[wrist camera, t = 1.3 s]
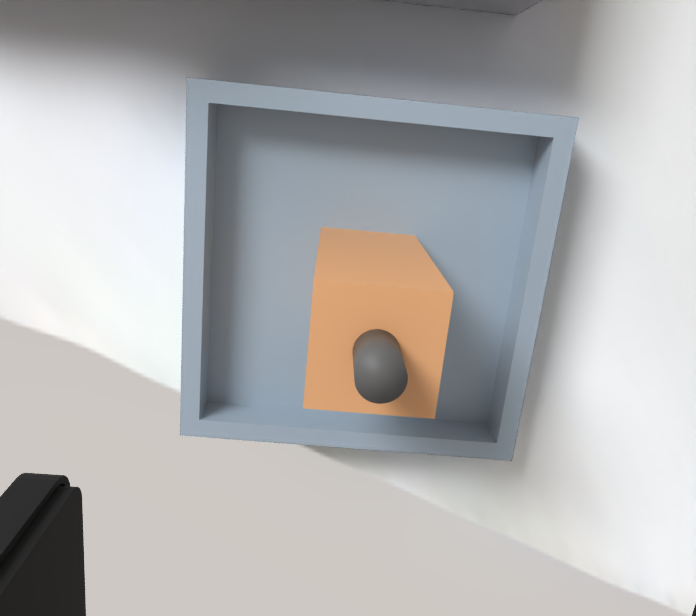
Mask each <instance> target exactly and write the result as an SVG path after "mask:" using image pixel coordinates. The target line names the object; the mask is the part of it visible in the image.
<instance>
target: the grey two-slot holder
mask: <svg viewBox="0 0 696 616" xmlns="http://www.w3.org/2000/svg"><path fill="white" fill-rule="evenodd" d="M385 1H394V2H403V3H412V4H421V5H430V6H440V7H449V8H458V9H467V10H476V11H485V12H494V13H503V14H512V15H517V14H519V13H521V12H522V11H524V10H526V9H528V8H529V7H531V6H533V5H534V4H536V3H538V2H540V1H541V0H385Z"/></svg>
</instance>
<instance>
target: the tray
mask: <svg viewBox="0 0 696 616" xmlns="http://www.w3.org/2000/svg"><path fill="white" fill-rule="evenodd" d="M578 120H579V118H577V117H567V116H557V115H547V114H538V113H528V112H518V111H508V110H499V109H489V108H479V107H470V106H460V105H450V104H440V103H431V102H421V101H411V100H402V99H392V98H382V97H372V96H363V95H353V94H343V93H334V92H324V91H314V90H304V89H295V88H285V87H275V86H266V85H256V84H246V83H236V82H227V81H217V80H207V79H198V78H188V77H187V105H186V156H185V207H184V258H183V309H182V360H181V411H180V435H184V436H197V437H210V438H223V439H237V440H249V441H262V442H275V443H289V444H301V445H314V446H327V447H340V448H353V449H366V450H379V451H392V452H405V453H418V454H431V455H444V456H457V457H470V458H484V459H497V460H510V461H512V457H513V452H514V446H515V441H516V436H517V431H518V426H519V421H520V416H521V411H522V406H523V400H524V395H525V390H526V385H527V380H528V375H529V370H530V365H531V360H532V355H533V349H534V344H535V339H536V334H537V329H538V324H539V319H540V314H541V309H542V303H543V298H544V293H545V288H546V283H547V278H548V273H549V268H550V263H551V258H552V252H553V247H554V242H555V237H556V232H557V227H558V222H559V217H560V212H561V206H562V201H563V196H564V191H565V186H566V181H567V176H568V171H569V166H570V161H571V155H572V150H573V145H574V140H575V135H576V130H577V125H578ZM321 227H329V228H340V229H350V230H361V231H372V232H383V233H393V234H404V235H415V236H416V238H417V239H418V240H419V242H420V243H421V245H422V246H423V248H424V249H425V251H426V252H427V254H428V255H429V256H430V258H431V259H432V261H433V262H434V264H435V265H436V267H437V268H438V270H439V271H440V273H441V274H442V275H443V277H444V278H445V280H446V281H447V283H448V284H449V286H450V287H451V289H452V290H453V292H454V295H453V301H452V308H451V314H450V321H449V328H448V334H447V341H446V347H445V354H444V361H443V367H442V374H441V380H440V387H439V394H438V400H437V407H436V413H435V419H431V418H418V417H406V416H393V415H380V414H368V413H355V412H343V411H330V410H317V409H305V408H303V401H304V389H305V377H306V365H307V353H308V341H309V329H310V317H311V305H312V293H313V281H314V273H315V266H316V259H317V252H318V245H319V238H320V231H321Z"/></svg>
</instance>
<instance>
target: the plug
mask: <svg viewBox="0 0 696 616" xmlns="http://www.w3.org/2000/svg"><path fill="white" fill-rule="evenodd" d="M453 295H454V292H453V290H452V289H451V287H450V286H449V284H448V283H447V281H446V280H445V278H444V277H443V275H442V274H441V273H440V271H439V270H438V268H437V267H436V265H435V264H434V262H433V261H432V259H431V258H430V256H429V255H428V254H427V252H426V251H425V249H424V248H423V246H422V245H421V243H420V242H419V240H418V239H417V238H416V236H415V235H404V234H393V233H383V232H372V231H361V230H350V229H340V228H329V227H321V231H320V238H319V245H318V252H317V259H316V266H315V273H314V281H313V293H312V305H311V317H310V329H309V341H308V353H307V365H306V377H305V389H304V401H303V408H305V409H317V410H330V411H343V412H355V413H368V414H380V415H393V416H406V417H418V418H431V419H435V413H436V407H437V400H438V394H439V387H440V380H441V374H442V367H443V361H444V354H445V347H446V341H447V334H448V328H449V321H450V314H451V308H452V301H453Z"/></svg>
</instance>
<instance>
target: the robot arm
mask: <svg viewBox="0 0 696 616" xmlns="http://www.w3.org/2000/svg"><path fill="white" fill-rule="evenodd" d="M82 516H83V514H82V494H81V490H80V488H78V487H70V483H69V480H68V478H67V477H66V476H64V475H48V474H34V473H24V474H21V475H20V476H18V477H17V478H16V479H15V481H14V482H13V483H12V484H11V485H10V486H9V487H8V489H7V490H6V491H5V492H4V493H3V495H2V496H1V497H0V616H86V609H85V578H84V546H83V517H82ZM692 616H696V605H695V608H694V611H693V614H692Z"/></svg>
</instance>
